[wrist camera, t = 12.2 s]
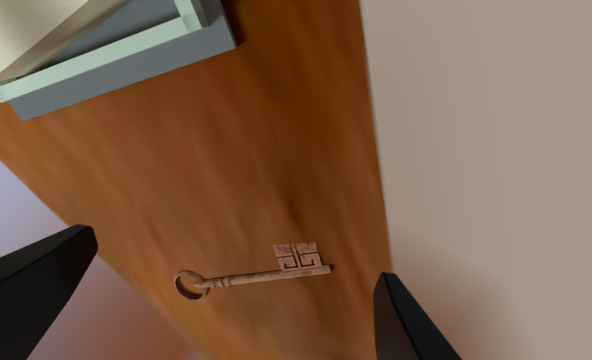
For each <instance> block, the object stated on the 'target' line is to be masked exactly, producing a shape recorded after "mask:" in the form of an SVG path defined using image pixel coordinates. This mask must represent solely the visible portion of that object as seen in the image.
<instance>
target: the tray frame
mask: <svg viewBox="0 0 592 360" xmlns="http://www.w3.org/2000/svg"><path fill="white" fill-rule="evenodd" d="M174 2H175V4H176V6H177V8H178V11H179V13H180V15H181V17H179V18H176V19H173V20H171V21H168V22H166V23H163V24H160V25H158V26H155V27H153V28H150V29H148V30H145V31H142V32H140V33H137V34H135V35H132V36H130V37H127V38H124V39H122V40H119V41H117V42H114V43H112V44H109V45H106V46H104V47H101V48H99V49H96V50H93V51H91V52H88V53H86V54H83V55H81V56H78V57H75V58H73V59H70V60H68V61H65V62H63V63H60V64H57V65H55V66H52V67H50V68H47V69H44V70H42V71H39V72H37V73H34V74H32V75H29V76H26V77H24V78H21V79H19V80H17V79H16V78H15V77H14V78H10V79H7V80H3V81H0V102H1V103H2V102H5V101H8V100H11V99H14V98H17V97H20V96H23V95H25V94H28V93H31V92H33V91H36V90H39V89H42V88H44V87H47V86H50V85H52V84H55V83H58V82H60V81H63V80H66V79H69V78H71V77H74V76H77V75H79V74H82V73H85V72H87V71H90V70H93V69H96V68H98V67H101V66H104V65H106V64H109V63H112V62H114V61H117V60H120V59H123V58H125V57H128V56H131V55H133V54H136V53H139V52H141V51H144V50H147V49H150V48H152V47H155V46H158V45H160V44H163V43H166V42H168V41H171V40H174V39H177V38H179V37H182V36H185V35H187V34H190V33H193V32H195V31H198V30H201V29H204V28H206V27H209V24H208V21H207V19H206V16H205V14H204V11H203V9H202V6H201V4H200V1H199V0H174Z"/></svg>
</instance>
